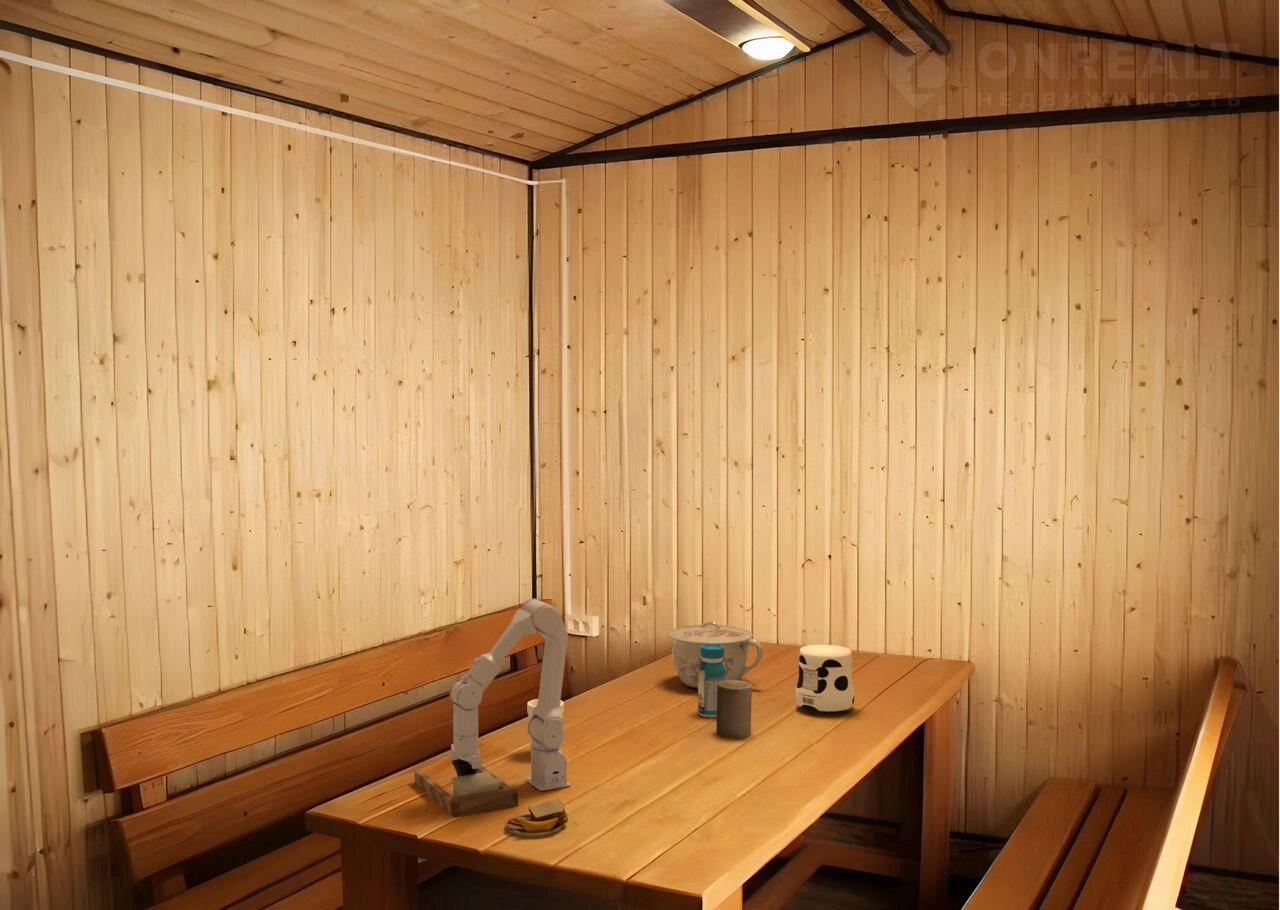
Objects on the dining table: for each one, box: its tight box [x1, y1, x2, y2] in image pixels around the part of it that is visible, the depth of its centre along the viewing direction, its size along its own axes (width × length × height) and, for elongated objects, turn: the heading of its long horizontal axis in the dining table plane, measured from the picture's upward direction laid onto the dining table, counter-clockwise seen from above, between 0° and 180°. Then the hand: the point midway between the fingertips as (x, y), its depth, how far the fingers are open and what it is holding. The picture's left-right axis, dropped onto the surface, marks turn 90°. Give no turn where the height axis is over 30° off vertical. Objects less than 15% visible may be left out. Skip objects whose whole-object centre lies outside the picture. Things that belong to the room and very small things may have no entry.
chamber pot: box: [667, 620, 764, 690], centre depth 380 cm, size 28×28×21 cm
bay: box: [414, 765, 519, 818], centre depth 277 cm, size 26×16×4 cm, turn 29°
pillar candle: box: [715, 680, 753, 739], centre depth 327 cm, size 10×10×15 cm
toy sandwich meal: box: [505, 798, 569, 838], centre depth 256 cm, size 12×14×5 cm
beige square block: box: [450, 772, 501, 797], centre depth 271 cm, size 9×9×5 cm
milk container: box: [795, 644, 856, 715], centre depth 351 cm, size 17×17×18 cm
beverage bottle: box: [697, 644, 727, 718], centre depth 346 cm, size 8×8×20 cm
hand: (466, 790), depth 276 cm, fingers closed
